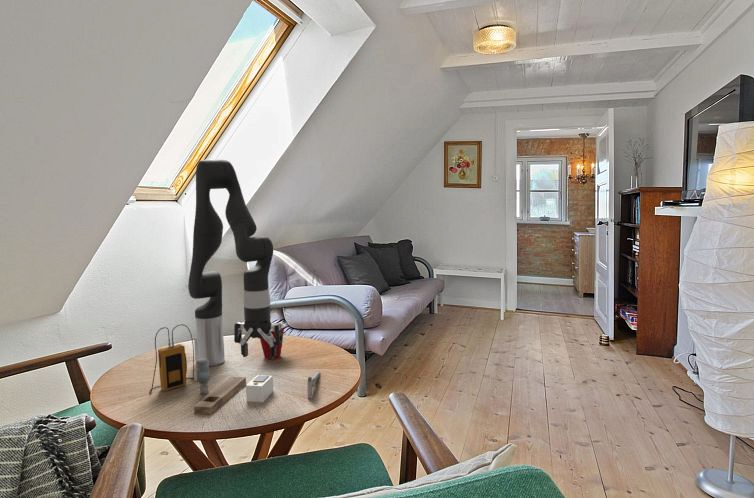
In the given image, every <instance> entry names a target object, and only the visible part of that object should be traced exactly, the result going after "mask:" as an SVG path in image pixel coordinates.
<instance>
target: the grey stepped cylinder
mask: <svg viewBox="0 0 754 498" xmlns="http://www.w3.org/2000/svg"><path fill="white" fill-rule="evenodd" d="M195 368H196V370H195V371H196V372H195V373H196V382H197V383H198V384H199V395H202V396H203V395H204V396H205V395H209V384H208V383H209V382H210V380H211V379H210V366H209V361H208V360H207V359H206V358H202V359H198V360H197V362H196V363H195Z"/></svg>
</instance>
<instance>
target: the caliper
mask: <svg viewBox="0 0 754 498" xmlns="http://www.w3.org/2000/svg"><path fill="white" fill-rule="evenodd" d="M320 375H321V372H320V371H316V372H315V373H314V375H313V376H309V377H307V399H309V400H310V399H312V397H313V389H314V387H315V384H316V382H317V381H318V378H320ZM311 396H312V397H311Z"/></svg>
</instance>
